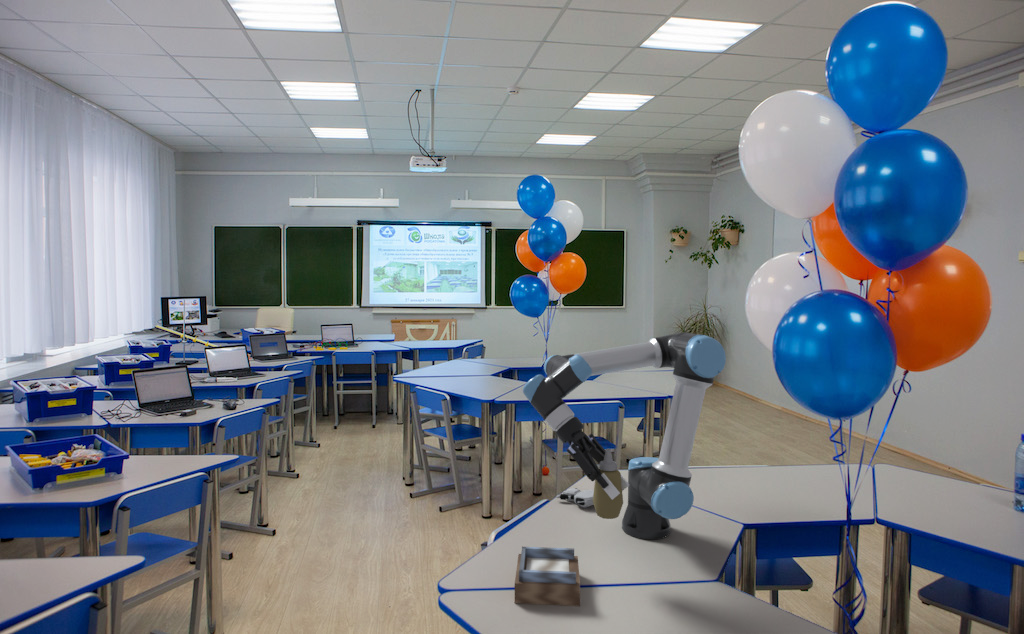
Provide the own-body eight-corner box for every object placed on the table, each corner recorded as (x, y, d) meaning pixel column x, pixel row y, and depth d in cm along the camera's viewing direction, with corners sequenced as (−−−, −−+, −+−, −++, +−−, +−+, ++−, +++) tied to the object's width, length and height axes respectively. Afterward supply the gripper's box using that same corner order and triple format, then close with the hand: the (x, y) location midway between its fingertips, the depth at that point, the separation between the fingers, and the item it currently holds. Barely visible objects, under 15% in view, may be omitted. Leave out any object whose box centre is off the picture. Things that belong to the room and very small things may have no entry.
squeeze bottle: (616, 523, 154) (616, 455, 153) (587, 517, 158) (588, 450, 157) (627, 513, 161) (628, 447, 160) (599, 507, 165) (600, 443, 164)
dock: (577, 574, 161) (577, 547, 160) (579, 606, 145) (580, 576, 145) (518, 571, 162) (518, 544, 162) (514, 603, 146) (514, 573, 146)
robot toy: (553, 504, 214) (588, 512, 204) (553, 492, 214) (587, 499, 204) (573, 495, 223) (607, 502, 213) (573, 483, 223) (607, 490, 213)
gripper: (570, 425, 174) (623, 489, 167) (540, 440, 157) (597, 512, 150) (587, 409, 171) (642, 473, 164) (558, 423, 155) (617, 495, 147)
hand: (620, 492), depth 157 cm, fingers closed on squeeze bottle, 6 cm apart
